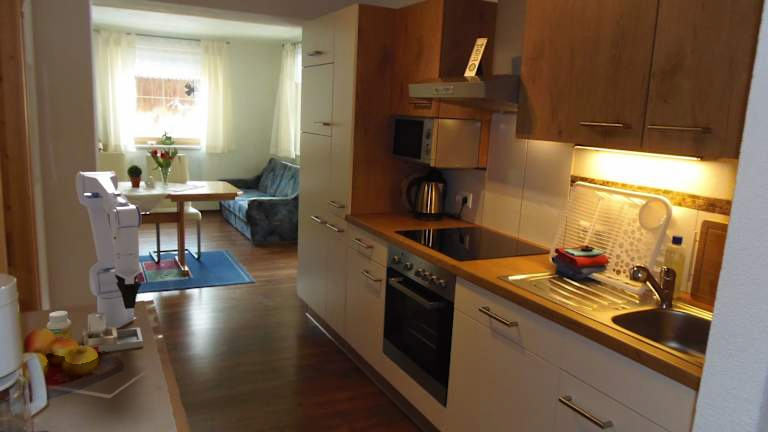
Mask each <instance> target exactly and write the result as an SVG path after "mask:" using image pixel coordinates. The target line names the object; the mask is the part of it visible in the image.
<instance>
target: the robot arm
mask: <svg viewBox="0 0 768 432" xmlns="http://www.w3.org/2000/svg"><path fill="white" fill-rule="evenodd" d="M118 180H119V179H118V176H117V174H116V172H115V171H114V170H110V171H84V172H83V171H78V172H77V173H76V175H75V189H76V194H77V199H78V201H79V204H80V205H82V206H85V207H86V211H87V213H88V217H89V218H88V219H89V222H90V223H89V224H90V227H91V232H92V238H93V243H94V247H95V253H96V258H97V262H95V263H94V264H93V265H92V266H91V267H90V269H89V272H88V275H89V283H88V284H89V289H90V292H91V293H92V294H93V295H94V296H96V302H97V303H96V305H97V306H96V307H97V312H103V313H105V316H106V327H114V326H116V330H118V328H121V327H123V326H124V325H127V324H128V323H130V322H132V321H134V320H135V319H137V317H135V307H136V301H137V295H138V293H139V290H140V287H141V285H142V281H139V280H138V281H137V277H138V276H139V274H140V273H141V267H140V247H139V243H140V242H139V228H140V227H141V226H142V220H143V219H142V218H143V217H142V212H141V209H140V207H139V205H138V204H131V203H130V201H129V200H128V199H127V197H126V196H125V194H124V193H122V192H120V191H118V186H119V181H118Z"/></svg>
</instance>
